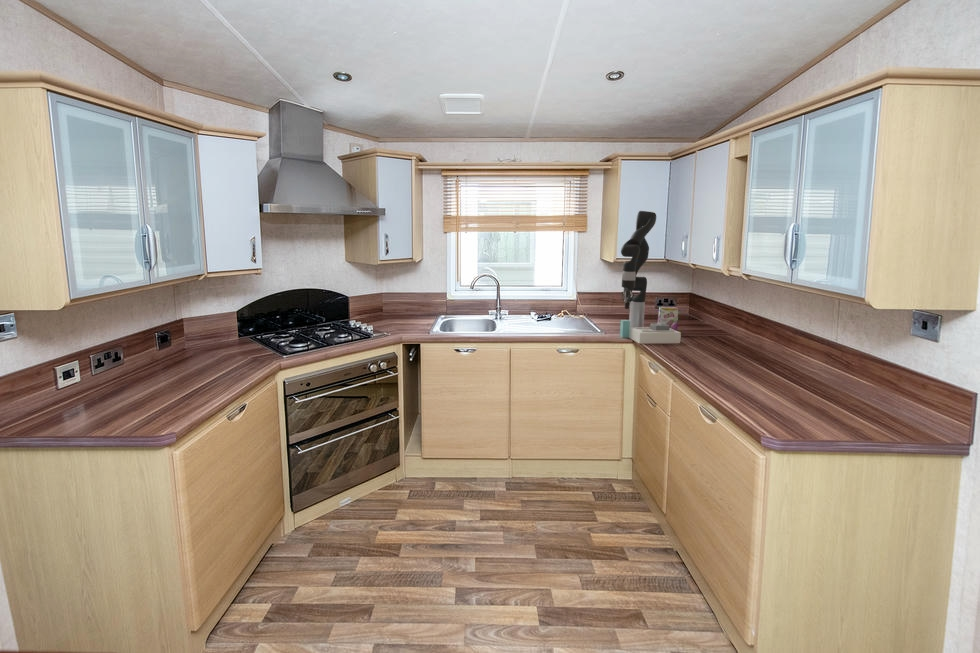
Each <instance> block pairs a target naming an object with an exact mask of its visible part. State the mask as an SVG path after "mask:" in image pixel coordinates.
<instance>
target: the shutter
mask: <svg viewBox="0 0 980 653" xmlns="http://www.w3.org/2000/svg"><path fill="white" fill-rule="evenodd" d="M649 327H650V329H653V330H669V329H670V326H669V325H667V324H664V323H659V322H658V321H656V322H654V323H653V322H652V323H650V326H649Z"/></svg>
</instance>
